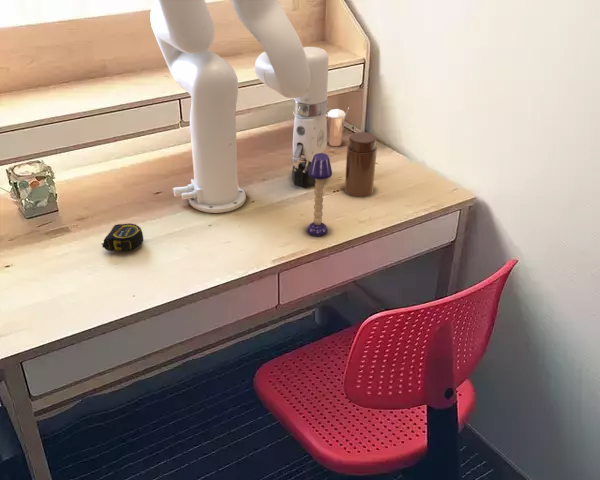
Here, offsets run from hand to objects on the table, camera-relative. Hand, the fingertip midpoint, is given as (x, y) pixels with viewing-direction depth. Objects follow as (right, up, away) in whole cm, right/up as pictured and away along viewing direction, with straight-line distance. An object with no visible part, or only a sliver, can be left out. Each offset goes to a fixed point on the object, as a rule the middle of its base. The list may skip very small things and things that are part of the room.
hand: (308, 178), depth 161 cm
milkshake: (+8, +12, +17) cm, 22 cm away
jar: (+12, -3, -4) cm, 13 cm away
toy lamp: (+2, -14, -19) cm, 24 cm away
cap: (0, +2, -1) cm, 2 cm away
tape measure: (-37, -18, -26) cm, 49 cm away
